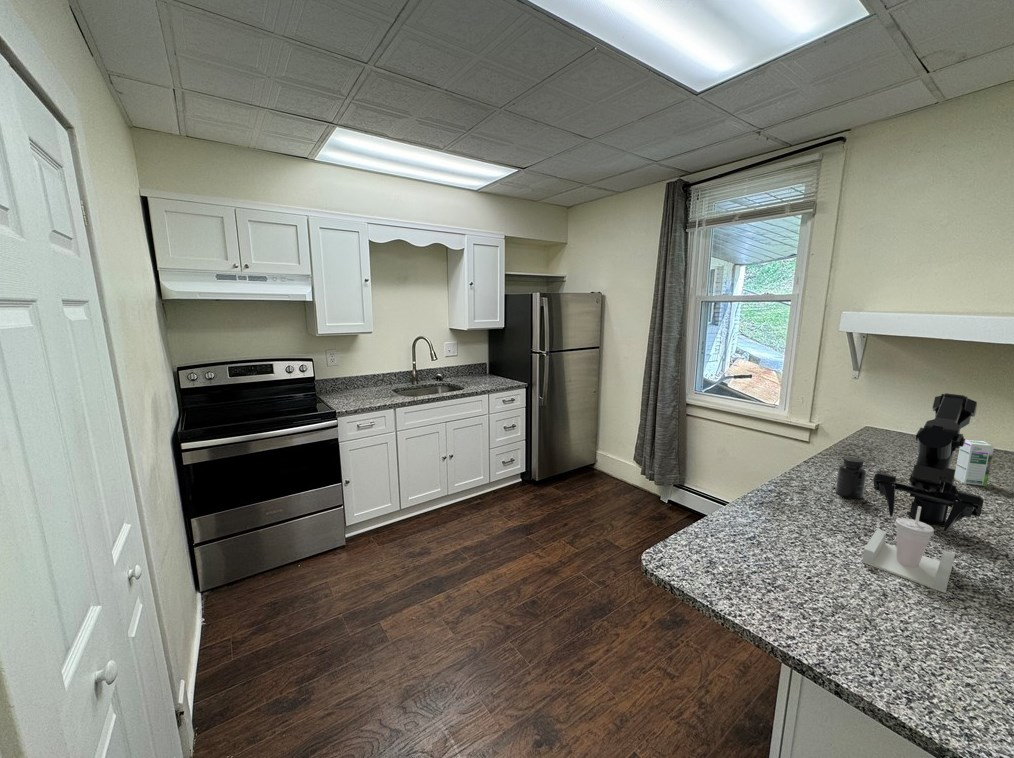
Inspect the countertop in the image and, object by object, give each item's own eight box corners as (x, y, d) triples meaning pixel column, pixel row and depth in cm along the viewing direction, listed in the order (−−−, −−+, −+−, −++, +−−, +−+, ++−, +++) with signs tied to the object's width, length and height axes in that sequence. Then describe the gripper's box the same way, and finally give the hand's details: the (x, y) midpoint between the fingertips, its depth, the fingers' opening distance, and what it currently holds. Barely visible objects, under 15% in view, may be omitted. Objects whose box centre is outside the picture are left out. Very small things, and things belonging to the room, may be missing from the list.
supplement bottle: (856, 491, 134) (862, 457, 132) (867, 501, 127) (873, 464, 125) (831, 488, 136) (836, 454, 134) (840, 497, 130) (845, 461, 128)
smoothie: (934, 568, 93) (945, 512, 91) (913, 573, 92) (925, 515, 89) (901, 552, 99) (911, 499, 97) (881, 556, 98) (891, 502, 95)
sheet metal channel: (874, 541, 105) (877, 529, 105) (952, 567, 95) (955, 553, 94) (861, 562, 96) (864, 548, 96) (945, 593, 86) (948, 578, 85)
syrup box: (964, 483, 140) (972, 443, 138) (953, 477, 146) (961, 438, 143) (986, 486, 138) (995, 445, 136) (974, 479, 144) (983, 440, 141)
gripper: (880, 442, 105) (864, 494, 101) (991, 463, 91) (978, 525, 86) (882, 463, 112) (866, 514, 107) (986, 486, 97) (973, 545, 93)
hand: (916, 523), depth 98 cm, fingers open, 9 cm apart
